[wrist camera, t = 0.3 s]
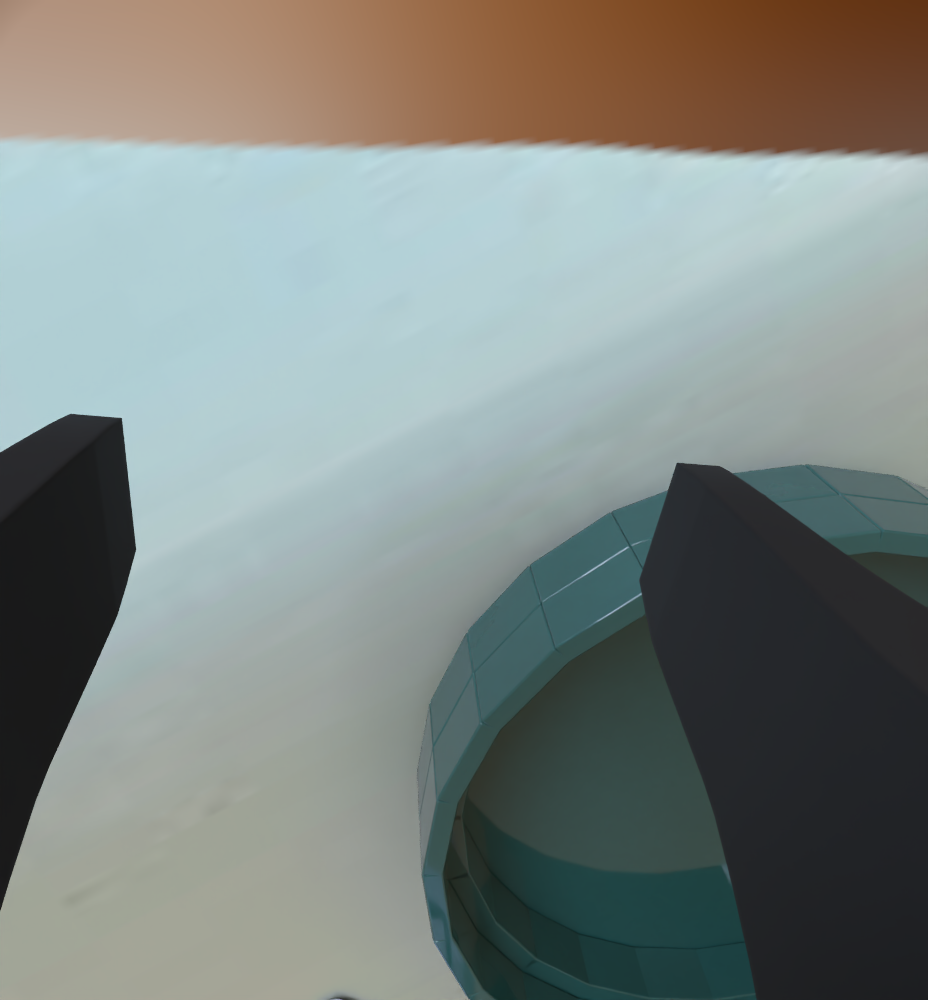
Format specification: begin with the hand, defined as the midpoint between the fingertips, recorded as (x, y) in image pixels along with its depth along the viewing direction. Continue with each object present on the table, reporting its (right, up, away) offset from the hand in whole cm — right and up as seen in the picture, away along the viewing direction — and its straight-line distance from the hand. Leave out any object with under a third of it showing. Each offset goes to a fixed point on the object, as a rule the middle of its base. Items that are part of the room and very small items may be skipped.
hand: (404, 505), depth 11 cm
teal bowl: (+10, -8, +16) cm, 21 cm away
